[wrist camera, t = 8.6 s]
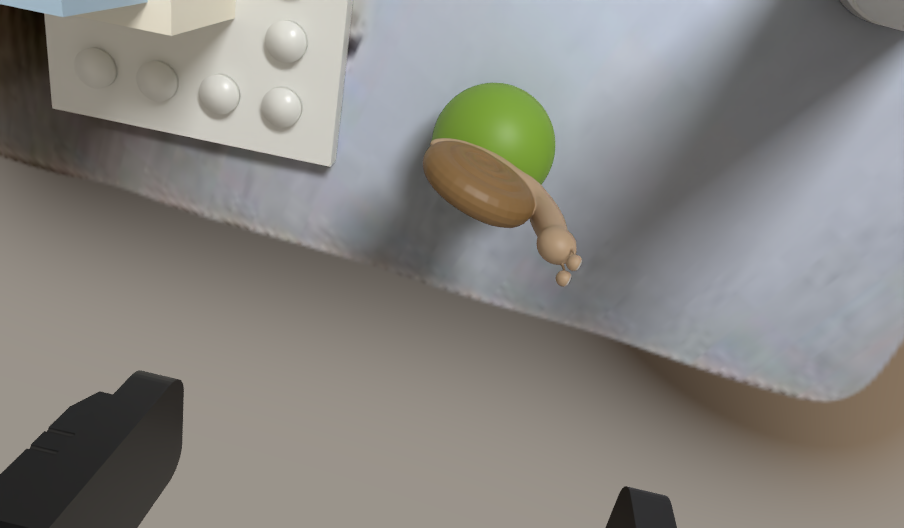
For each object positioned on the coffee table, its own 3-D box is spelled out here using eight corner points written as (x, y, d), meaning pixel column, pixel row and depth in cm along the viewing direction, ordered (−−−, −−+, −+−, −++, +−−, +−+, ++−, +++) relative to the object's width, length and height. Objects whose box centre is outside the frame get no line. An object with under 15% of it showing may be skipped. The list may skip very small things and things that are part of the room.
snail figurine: (536, 212, 34) (535, 339, 24) (421, 152, 34) (366, 255, 23) (594, 117, 32) (623, 210, 21) (471, 51, 31) (437, 112, 20)
